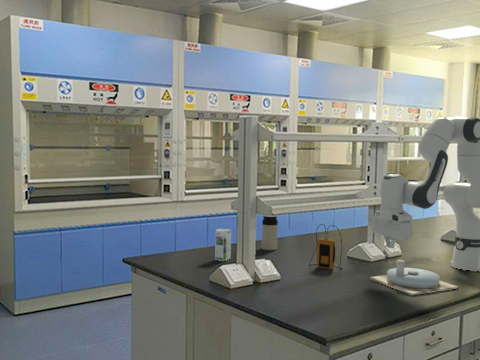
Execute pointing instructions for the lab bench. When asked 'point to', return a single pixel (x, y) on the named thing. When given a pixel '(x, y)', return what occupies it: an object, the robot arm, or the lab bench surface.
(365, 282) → the lab bench surface
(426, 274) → the capstan dial
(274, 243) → the travel mug
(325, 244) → the multimeter
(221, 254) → the syrup box
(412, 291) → the base plate
